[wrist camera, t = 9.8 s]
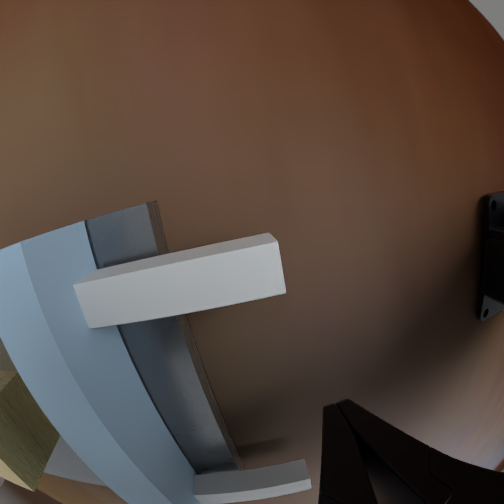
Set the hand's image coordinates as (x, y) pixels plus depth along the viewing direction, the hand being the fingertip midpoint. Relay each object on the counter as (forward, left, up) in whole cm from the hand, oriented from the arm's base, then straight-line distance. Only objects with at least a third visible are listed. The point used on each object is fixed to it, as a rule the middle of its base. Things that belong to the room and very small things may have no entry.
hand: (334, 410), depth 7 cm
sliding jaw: (+4, 0, -1) cm, 5 cm away
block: (+15, 0, -2) cm, 15 cm away
